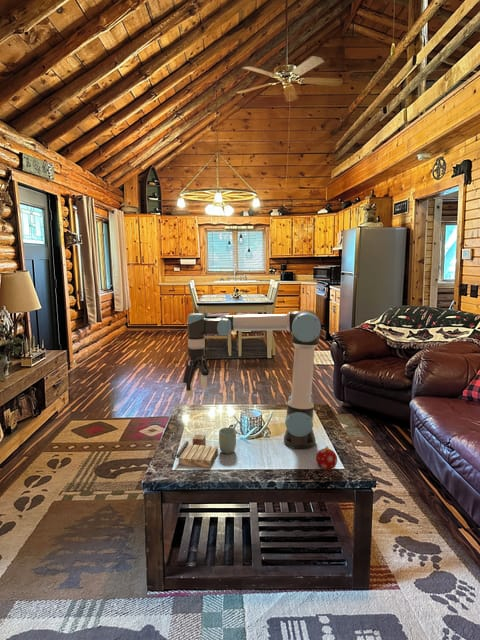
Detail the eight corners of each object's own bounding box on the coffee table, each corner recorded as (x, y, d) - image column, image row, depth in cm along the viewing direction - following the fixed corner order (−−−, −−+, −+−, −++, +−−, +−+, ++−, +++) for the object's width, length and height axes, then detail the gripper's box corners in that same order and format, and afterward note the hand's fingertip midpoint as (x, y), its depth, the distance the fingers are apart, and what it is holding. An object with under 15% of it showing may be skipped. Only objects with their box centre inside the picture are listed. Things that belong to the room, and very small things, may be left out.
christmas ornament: (322, 462, 178) (322, 440, 177) (340, 468, 172) (341, 445, 171) (312, 469, 171) (312, 446, 170) (330, 476, 166) (331, 452, 165)
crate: (205, 445, 195) (205, 435, 194) (203, 449, 190) (203, 439, 189) (195, 444, 195) (195, 434, 195) (192, 449, 190) (192, 438, 190)
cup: (234, 456, 183) (234, 435, 182) (217, 454, 184) (217, 433, 183) (237, 448, 190) (237, 428, 189) (221, 447, 192) (221, 426, 191)
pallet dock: (218, 452, 186) (217, 443, 186) (210, 467, 172) (210, 457, 172) (186, 450, 189) (186, 440, 188) (176, 464, 175) (176, 454, 175)
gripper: (202, 342, 199) (202, 384, 202) (174, 352, 176) (175, 399, 179) (215, 343, 196) (216, 386, 199) (189, 353, 173) (190, 401, 176)
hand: (196, 392), depth 189 cm, fingers open, 13 cm apart
